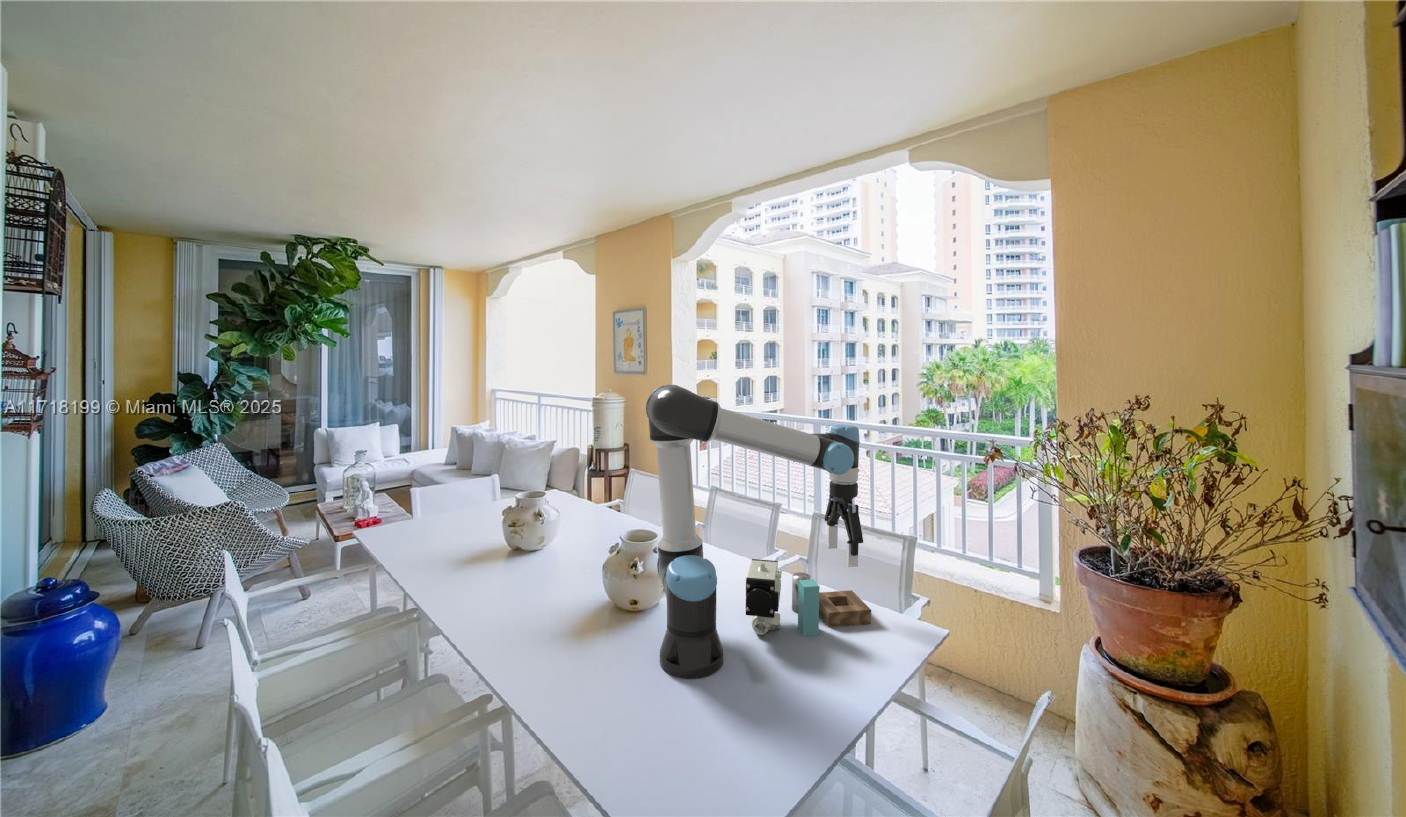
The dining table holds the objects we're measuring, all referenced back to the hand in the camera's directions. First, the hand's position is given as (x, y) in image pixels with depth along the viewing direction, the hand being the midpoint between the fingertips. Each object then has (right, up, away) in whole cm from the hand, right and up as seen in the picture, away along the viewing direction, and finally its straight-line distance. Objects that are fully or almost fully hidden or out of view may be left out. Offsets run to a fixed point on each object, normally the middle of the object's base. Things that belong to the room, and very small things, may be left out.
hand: (841, 556), depth 143 cm
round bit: (-11, -16, +4) cm, 20 cm away
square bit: (-11, -17, -7) cm, 22 cm away
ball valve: (-22, -18, -6) cm, 29 cm away
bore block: (0, -17, +2) cm, 17 cm away
